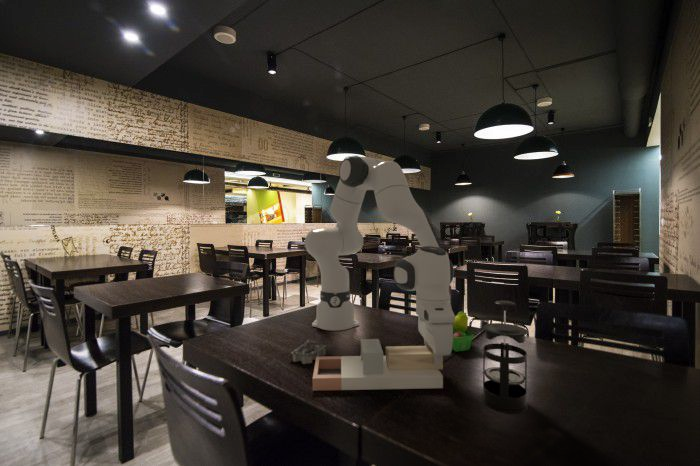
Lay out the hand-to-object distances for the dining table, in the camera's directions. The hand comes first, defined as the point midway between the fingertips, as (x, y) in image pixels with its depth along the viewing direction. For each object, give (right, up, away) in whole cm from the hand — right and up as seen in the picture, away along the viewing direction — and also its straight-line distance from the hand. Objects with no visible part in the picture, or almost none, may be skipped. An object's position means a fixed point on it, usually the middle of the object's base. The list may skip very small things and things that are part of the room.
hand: (432, 359), depth 92 cm
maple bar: (-5, -1, 0) cm, 5 cm away
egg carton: (-35, -5, +14) cm, 37 cm away
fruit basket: (+13, -4, +23) cm, 26 cm away
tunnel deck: (-15, -4, 0) cm, 16 cm away
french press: (+13, -5, -13) cm, 19 cm away
